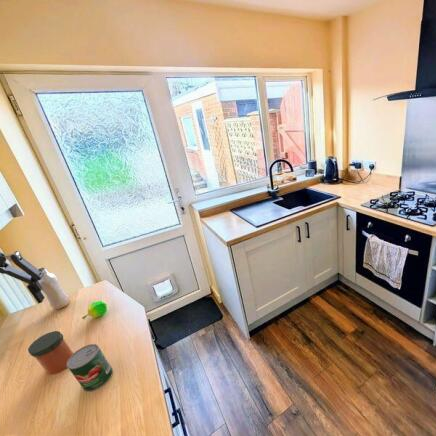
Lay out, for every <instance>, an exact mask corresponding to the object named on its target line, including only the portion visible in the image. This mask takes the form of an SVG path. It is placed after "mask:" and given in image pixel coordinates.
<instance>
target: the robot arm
mask: <svg viewBox="0 0 436 436" xmlns="http://www.w3.org/2000/svg"><path fill="white" fill-rule="evenodd" d="M7 260H8V261H9V262H11V263H13V264H14V265H15V266H16V267H15V266H13V265H12V264H11V263H9V262H7ZM17 267H18V268H17ZM38 269H39V268H37V267H35V266H34V265H33V264H31V262H29V261H28V260H26V259H25V258H24V257H23V255H22V254H21V252H20V251H18V250H17V251H14V252H13V253H9V254H5V253H3V252H2V251H0V274H2V275H6V276H8V277H12V278H14V279H16V280H18V281H21V282H23V283H24V284H25V283H26V284H27V286H26V288H27V290H28V291H29V292H30V294H31V295H32V296H33V298H34V299H35V301H36V302H37V303H38V304H41V303H43V301H44V299H45V296H44V293H43V292H42V286H41V285H40V283H39V282H38V280H41V278H42V277H43V275H44V274H43V273H42V272H40V271H39V270H38Z"/></svg>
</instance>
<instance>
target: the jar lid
mask: <svg viewBox="0 0 436 436" xmlns="http://www.w3.org/2000/svg"><path fill="white" fill-rule="evenodd" d="M63 339H64V335H63V333H62V332H60V330H54V331H50V332H47V333H45V334H43V335H41V336H39V337H38V338H36V339H35V340H34V341H33V342H32V343H31V344H30V345H29V346H28V349H27V351H28V354H29V355H30V356H31V357H33V358H35V357H38V356H42V355H44V354H47V353H49V352H50V351H52V350H53V349H55V348H56V347H57V346H58V345H59V344H60V343H61V342H62V340H63Z"/></svg>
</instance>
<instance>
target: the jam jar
mask: <svg viewBox="0 0 436 436" xmlns="http://www.w3.org/2000/svg"><path fill="white" fill-rule="evenodd" d="M74 353H75V352H74V351H73V350H72V348H71V347H70V346H69V344H68V343H67V342H66V340H65V339H64V338H63V340H62V342H61V343H60V344H59V345H58V346H57V347H56V348H55V349H53V350H52V351H50V352H49V353H47V354H44V355H42V356H38V357H34V359H35V360H36V361H37V363H38V364H39V365H40V366H41V367H42V368H43V370H44V371H45V372H46V373H47V374H48V375H50V376H51V375H56V374H59V373H61V372H63V371H65V370H66V369H68V367H67V361H68V359H69V358H70V357H71V356H72V355H73V354H74Z"/></svg>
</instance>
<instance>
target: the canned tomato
mask: <svg viewBox="0 0 436 436" xmlns="http://www.w3.org/2000/svg"><path fill="white" fill-rule="evenodd" d="M73 353H74V354H73V355H72V356H71V357H70V358H69V359H68V361H67V369H68V370H69V372H70V373H71V374H72V376H73V377H74V378H75V379H76V381H77V382H78V383H79V385H80V387H82V389H83V391H85V392H87V393H91V392H95V391H97V390H99V389H101V388H102V387H103V386H105V385H106V384H107V383H108V382H109V381H110V379H111V378H112V375H113V373H114V369H113V367H112V365H111V364H110V363H109V361H108V359H107V358H106V356H105V354H104V353H103V351H102V350H101V348H100V347H99V345H98V344H97V343H90V344H87V345H84V346H82V347H81V348H79V349H78V350H76V351H75V352H73Z"/></svg>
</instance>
